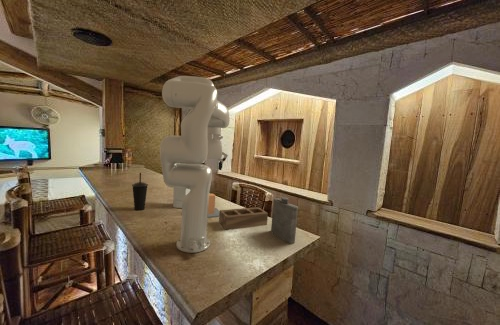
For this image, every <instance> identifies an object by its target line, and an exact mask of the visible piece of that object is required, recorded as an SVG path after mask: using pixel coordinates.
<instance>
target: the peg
mask: <svg viewBox="0 0 500 325" xmlns="http://www.w3.org/2000/svg"><path fill="white" fill-rule="evenodd" d="M215 206H216V195H215V194H214V193H209V200H208V214H213V213H214V209H215V208H216V207H215Z"/></svg>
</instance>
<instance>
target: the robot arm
mask: <svg viewBox="0 0 500 325" xmlns="http://www.w3.org/2000/svg"><path fill="white" fill-rule="evenodd" d="M161 96H162V100H163V101H164V103H165V104H166V105H167V107H171V108H179V109H191V110H190V111H189V112H188V113H186V115H185V116H184V118H183V119H182V121H181V122H180V133H181V135H176V134H175V135H171V134H169V135H166V136H165V137H163V138H162V140H161V142H160V144H159V158H160V164H161V171H162V177H163V178H162V179H163V182H164V184H165V186H167V187H168V188H173V189H174V188H186V189H190V192H189V193H188V194H187V195H186V196H185V197H184V199H183V203H182V208H181V226H180V228H181V229H180V238H179V239H178V240H177V241H176V244H175V245H176V248H177V250H179V251H181V252H183V253H188V254H190V253H191V254H192V253H193V254H194V253H199V252H204V251H205V250H207V249H209V247H210V246H211V240H210V239H209V238H208V237H207V235H208V234H207V231H208V218H207V217H208V200H209V194H210V190H211V186H212V180H213V170H212V168H211V167H210V166H209V165H206V164H205V162H206V161H207V160H218V170H219V171H222V169H223V163H224V162H225V161H226V159H227V158H228V156H229V155H228V154H227V153H225V152H224V151H223V145H222V140H223V138H224V136H223V135H221V131H222V129H226V128H228V127H229V125H230V118H231V117H230V112H229V108H228V107H227V106H226V105H225V104H223V103H222V102H221V101H219V99H218V90H217V87H215V85H214V83H213V81H212V80H211V79H209V78H208V77H205V76H194V75H193V76H191V75H179V76H175V77H172V78H170V79H168V80H167V81H165V82H164V84H163V86H162V89H161Z"/></svg>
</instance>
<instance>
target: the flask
mask: <svg viewBox="0 0 500 325" xmlns="http://www.w3.org/2000/svg"><path fill="white" fill-rule="evenodd" d="M298 212H299V206H298V205H295V204H293V203H289V197H286V196H282V197H281V198H273V204H272V216H271V226H270V232H271V234H273V235H274V236H275V237H277V238H279V239H281V240H282V241H284V242H286V243H288V244H291V245H292V244H295V243H296V233H297V225H298V224H297V223H298V222H297V221H298V214H299V213H298Z"/></svg>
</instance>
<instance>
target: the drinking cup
mask: <svg viewBox="0 0 500 325" xmlns="http://www.w3.org/2000/svg"><path fill="white" fill-rule="evenodd" d="M148 186H149V184H148V183H146V182H142V172H139V181H138V182H134V183H132V184H131V187H132V195H133V208H134V211H137V212H138V211H139V212H141V211H144V210H145V208H146V207H145V206H146V200H147V199H146V198H147V192H148Z"/></svg>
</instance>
